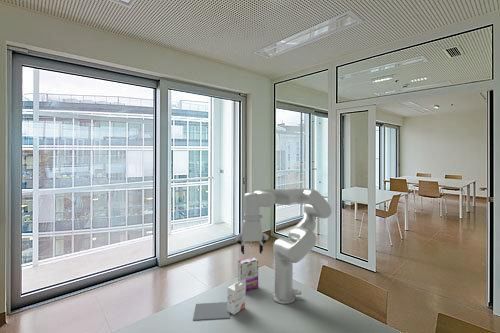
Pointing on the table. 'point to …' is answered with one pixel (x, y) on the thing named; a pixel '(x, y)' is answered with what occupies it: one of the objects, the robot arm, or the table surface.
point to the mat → (211, 311)
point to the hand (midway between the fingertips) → (251, 252)
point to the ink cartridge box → (236, 297)
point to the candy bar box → (248, 272)
